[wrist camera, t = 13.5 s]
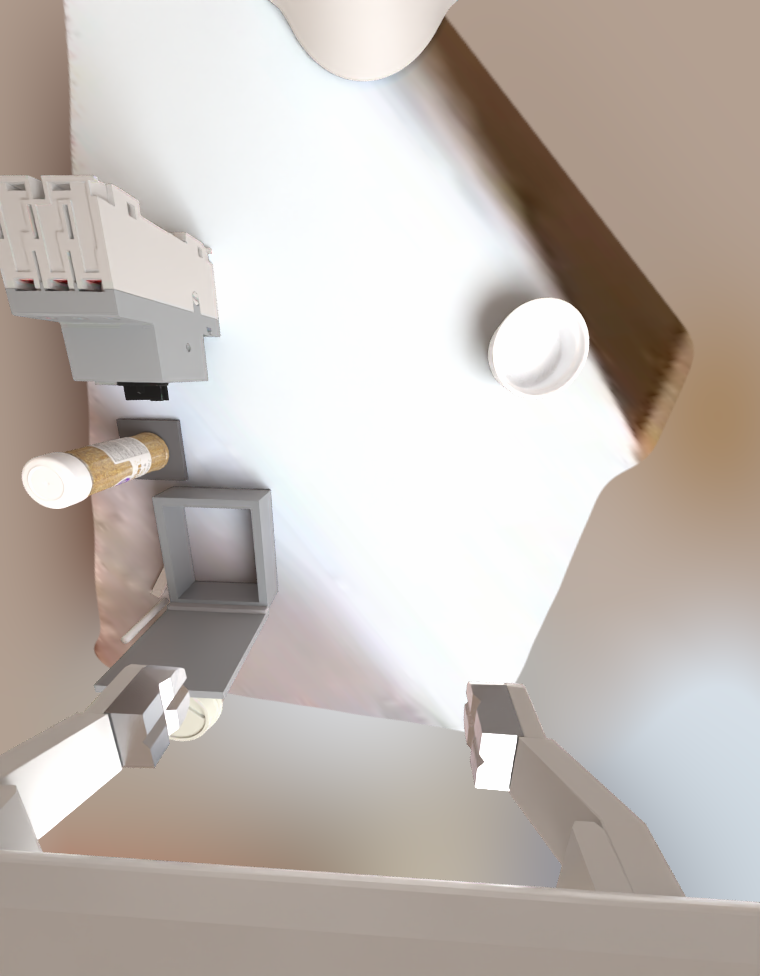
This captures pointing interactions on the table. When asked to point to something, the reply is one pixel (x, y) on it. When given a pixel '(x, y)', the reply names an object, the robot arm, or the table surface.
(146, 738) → the robot arm
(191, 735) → the coffee cup
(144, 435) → the sprinkles bottle
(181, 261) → the circuit breaker
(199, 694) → the case
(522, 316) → the ramekin
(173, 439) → the pad
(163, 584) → the rod
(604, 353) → the table surface
